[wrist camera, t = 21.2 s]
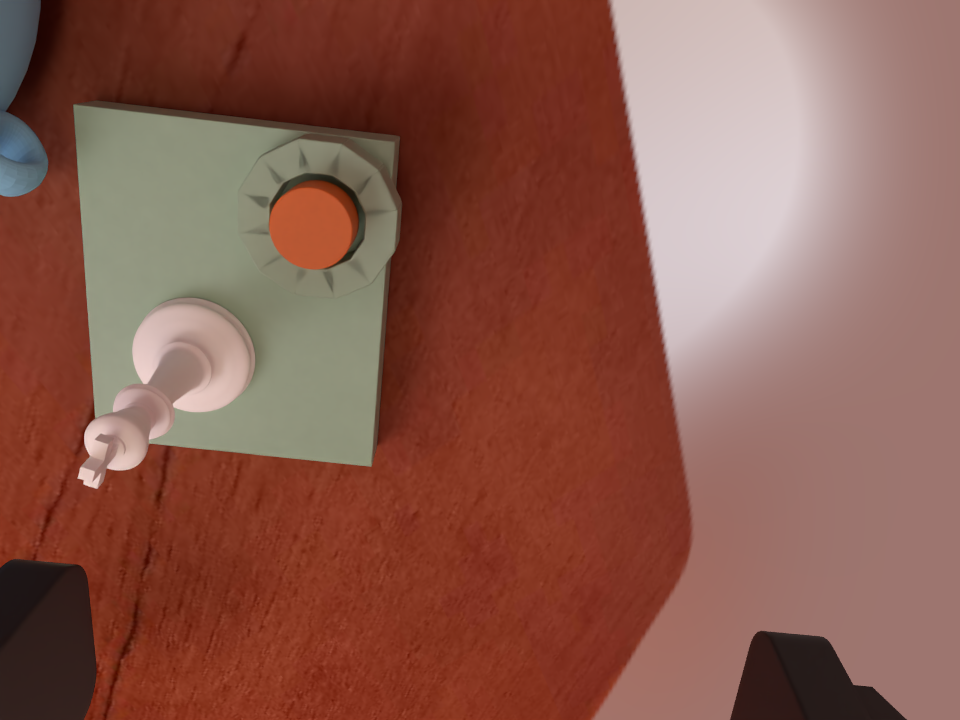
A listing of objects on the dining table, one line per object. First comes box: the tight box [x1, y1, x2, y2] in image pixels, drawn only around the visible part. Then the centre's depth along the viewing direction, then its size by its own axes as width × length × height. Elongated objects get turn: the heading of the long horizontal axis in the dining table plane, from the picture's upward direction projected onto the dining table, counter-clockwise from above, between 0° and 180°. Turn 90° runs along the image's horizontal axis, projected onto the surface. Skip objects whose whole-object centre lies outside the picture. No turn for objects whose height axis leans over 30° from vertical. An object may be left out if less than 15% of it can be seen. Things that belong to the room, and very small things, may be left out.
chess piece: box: [78, 298, 255, 489], centre depth 29 cm, size 5×5×10 cm
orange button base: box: [73, 100, 402, 466], centre depth 33 cm, size 12×14×4 cm
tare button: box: [269, 180, 359, 270], centre depth 30 cm, size 3×3×2 cm
